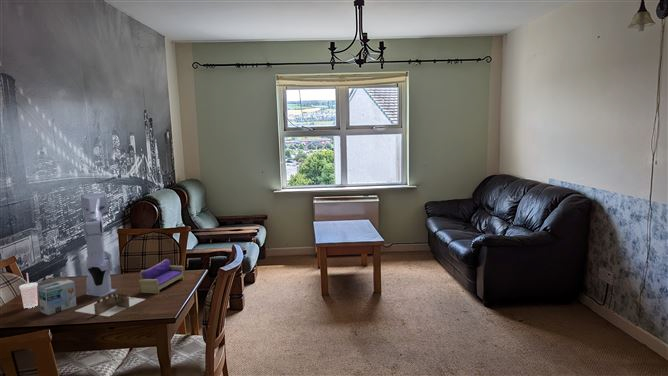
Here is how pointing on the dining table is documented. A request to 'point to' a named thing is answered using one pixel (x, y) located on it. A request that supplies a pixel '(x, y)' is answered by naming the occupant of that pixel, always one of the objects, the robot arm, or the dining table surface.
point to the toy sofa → (160, 276)
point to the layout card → (112, 310)
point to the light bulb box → (57, 296)
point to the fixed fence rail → (122, 300)
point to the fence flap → (105, 303)
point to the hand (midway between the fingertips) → (98, 285)
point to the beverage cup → (29, 294)
